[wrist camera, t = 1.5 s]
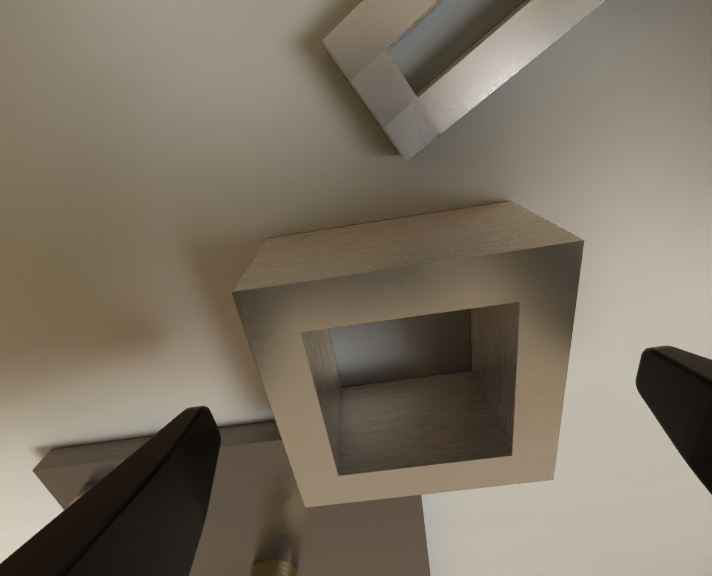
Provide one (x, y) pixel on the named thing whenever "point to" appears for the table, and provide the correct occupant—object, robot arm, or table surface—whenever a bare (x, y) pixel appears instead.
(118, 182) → the table surface
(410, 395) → the end link
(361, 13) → the chain tail
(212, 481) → the robot arm
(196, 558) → the keeper plate
